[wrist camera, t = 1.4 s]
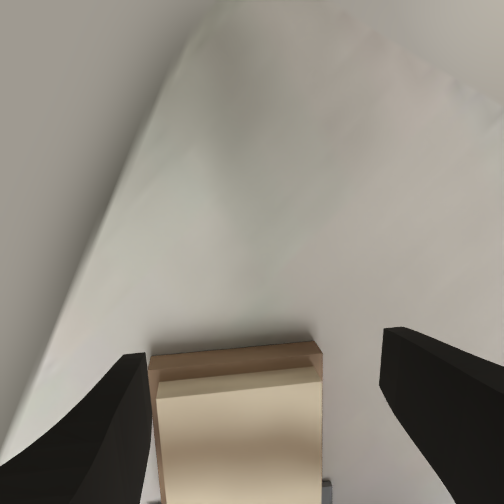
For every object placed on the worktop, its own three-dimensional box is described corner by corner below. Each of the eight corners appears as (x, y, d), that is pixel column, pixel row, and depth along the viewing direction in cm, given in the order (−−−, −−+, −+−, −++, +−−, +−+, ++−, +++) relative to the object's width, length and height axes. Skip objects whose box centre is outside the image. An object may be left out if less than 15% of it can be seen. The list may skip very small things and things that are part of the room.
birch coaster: (313, 492, 23) (321, 515, 21) (171, 513, 22) (170, 538, 20) (313, 366, 21) (321, 381, 19) (159, 381, 20) (156, 399, 18)
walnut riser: (314, 476, 24) (321, 496, 23) (165, 496, 23) (163, 518, 22) (314, 341, 22) (322, 353, 21) (151, 356, 21) (147, 370, 20)
